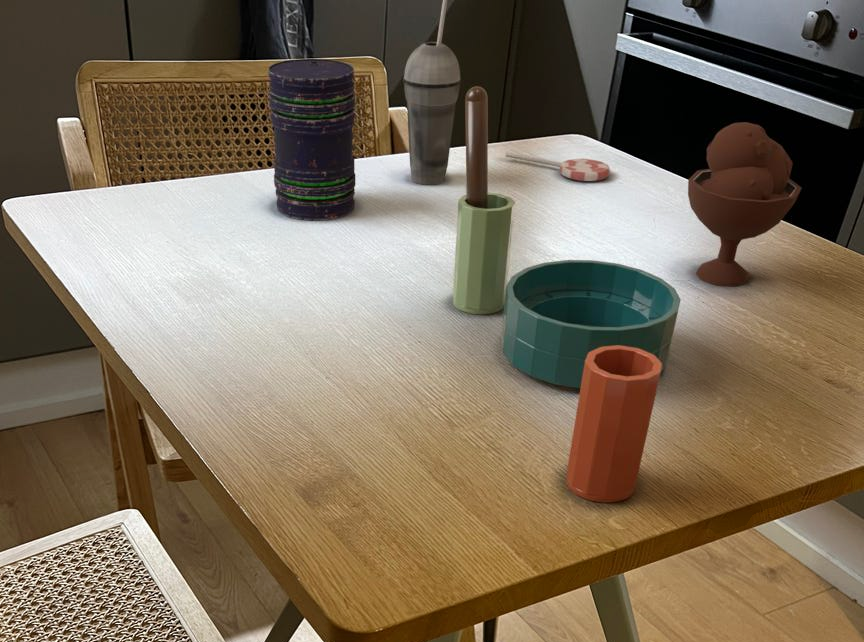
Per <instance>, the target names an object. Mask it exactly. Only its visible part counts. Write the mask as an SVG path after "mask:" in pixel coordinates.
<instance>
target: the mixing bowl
mask: <svg viewBox="0 0 864 642" xmlns="http://www.w3.org/2000/svg"><path fill="white" fill-rule="evenodd" d="M681 301H682V300H681V297H680V295H679V293H678V292H677V290H676V288H675V287H674V286H672V285H671V284H670V283H668V282H667V281H666V280H664V279H663V278H661V277H659V276H657V275H654V274H653V273H650V272H648V271H646V270H643V269H640V268H637V267H633V266H629V265H626V264H625V265H624V264H621V263H616V262H608V261H601V260H593V259H564V260H555V261H547V262H541V263H538V264H534V265H531V266H528V267H525V268H523V269H521V270H520V271H518V272H516V273H515V274H514V275H512V276H511V277H510V279H509V281H507V286H506V293H505V302H504V307H503V314H502V315H503V316H502V323H501V324H502V326H501V332H500V333H501V335H500V347H501V352H502V355H503V356H504V358H505V359H506V360H507V361H508V362H509V364H511V366H513V367H515V368H516V369H518V370H520V371H521V372H523V373H525V374H526V375H528V376H530V377H532V378H535V379H538V380H540V381H543V382H544V381H545V382H547V383H551V384H553V385H558V386H563V387H571V388H576V389H580V388H581V382H582V376H583V370H584V364H585V360H586V357H587V355H588V353H589V352H591V351H593V350H595V349H597V348H599V347H604V346H616V345H621V346H627V347H634V348H639V349H642V350H644V351H646V352H649V353H651V354H653V355H655V356H656V357H657V358H658V359H659V361H660V362H661V363H662V369H661V372H662V371H664V370H665V369H666V366H667V363H668V358H669V354H670V350H671V345H672V341H673V336H674V333H675V327H676V324H677V323H676V322H677V318H678V313H679V309H680V305H681Z"/></svg>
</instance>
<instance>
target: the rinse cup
mask: <svg viewBox="0 0 864 642" xmlns="http://www.w3.org/2000/svg"><path fill="white" fill-rule="evenodd" d="M457 203H458V205H457V219H456V220H457V221H456V236H455V251H454V252H455V253H454V267H453V268H454V269H453V285H452V286H453V287H452V304H453V307H455V308H456V309H457V310H458V311H461V312H464V313H467V314H472V315H490V314H495V313H498V312H500V311H501V310H502V309H504V303H505V293H506V286H507V284H508V278H509V268H510V260H511V259H510V258H511V248H512V247H511V246H512V238H513V228H514V216H515V207H516V202H515V200H514V199H513V198H512V197H511V196H508V195H505V194H503V193H497V192H490V191H488V209H484V208H476V207H473V206H470V205H468V204H467V194H464V195H462V196H460V198H459V199H458V202H457Z"/></svg>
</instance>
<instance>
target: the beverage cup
mask: <svg viewBox="0 0 864 642" xmlns="http://www.w3.org/2000/svg"><path fill="white" fill-rule="evenodd" d="M447 6H448V0H442V5H441V10H440V11H441V12H440V19H439V24H438V32H437V40H436V41H427V42H424V43H422V44H420V45H419V46H417V47H416V48H415V49H414V50H413V51H411V54H410V55H409V57H408V58H407V61H406V64H405V67H404V74H403V78H402V82H403V86H404V87H403V89H404V97H405V101H406V109H407V111H406V113H407V130H408V131H407V132H408V133H407V134H408V150H409V151H408V153H409V168H410V181H412V182H413V183H415V184H419V185H425V186H427V185H428V186H432V185H440V184H442V183H444V182H445V181H446V175H447V170H448V167H449V159H450V151H451V150H450V149H451V143H452V135H453V129H454V120H455V112H456V103H457V101H458V97H459V93H460V87H461V84H462V78H461V69H460V65H459V61H458V59H457V57H456V54H455V53H454V52H453V50H452V49H451V48H450V47H448V46H447V45H446V44H444V43H442V41H443V34H444V26H445V19H446V13H447Z"/></svg>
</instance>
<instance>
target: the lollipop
mask: <svg viewBox="0 0 864 642" xmlns="http://www.w3.org/2000/svg"><path fill="white" fill-rule="evenodd" d="M505 157H506V158H510V159H517V160H520V161H521V160H522V161H527V162H532V163H537V164H541V165H548V166H552V167H557V168H559V173H560V175H562V176H563V177H566V178H568V179H570V180H575V181H581V182H595V181H596V182H597V181H601V180H604V179H607V178H608V177H609V176H610V173H611V168H610V165H608V164H607V163H605V162H603V161H600V160H597V159H593V158H572V159H568V160H565V161H562V162H560V161H556V160H550V159H543V158H539V157H534V156H529V155H524V154H519V153H514V152H508V151H506V152H505Z"/></svg>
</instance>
